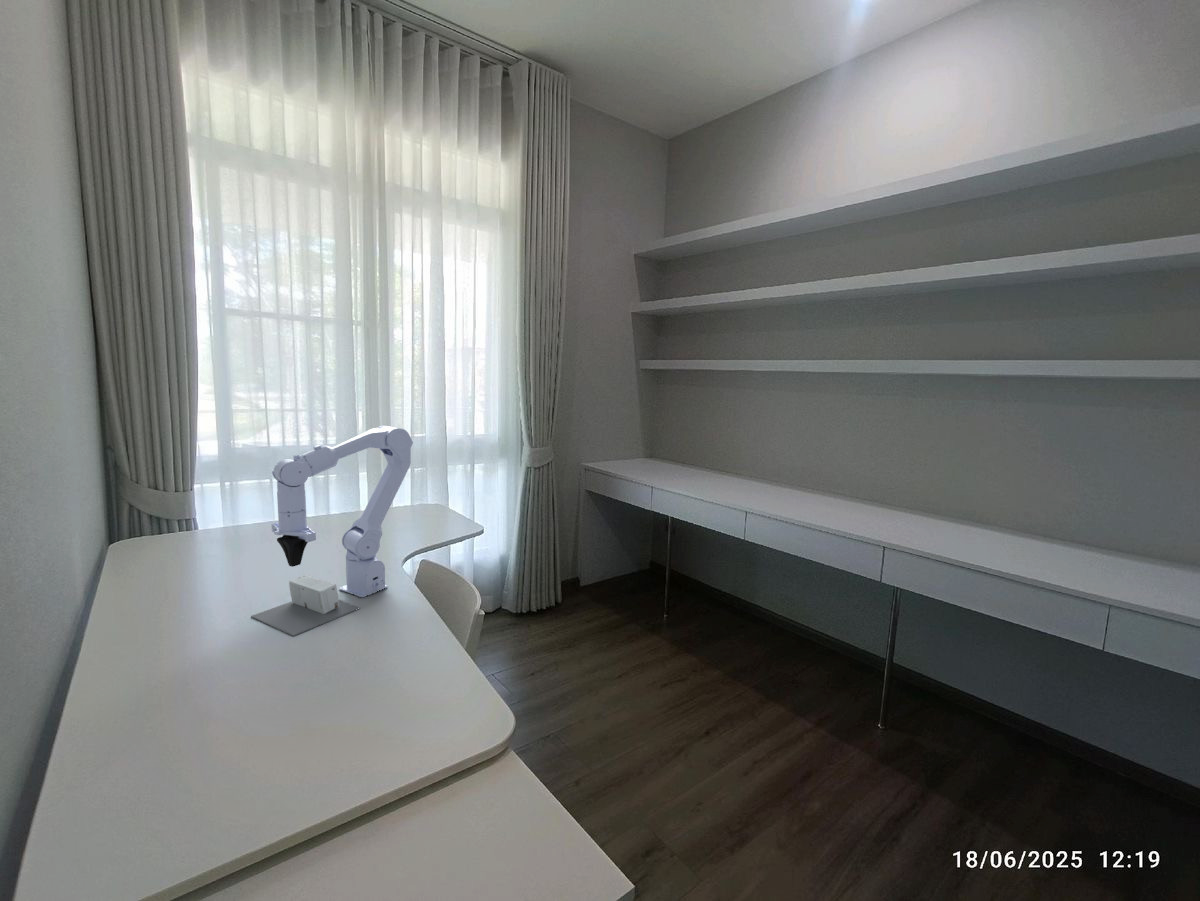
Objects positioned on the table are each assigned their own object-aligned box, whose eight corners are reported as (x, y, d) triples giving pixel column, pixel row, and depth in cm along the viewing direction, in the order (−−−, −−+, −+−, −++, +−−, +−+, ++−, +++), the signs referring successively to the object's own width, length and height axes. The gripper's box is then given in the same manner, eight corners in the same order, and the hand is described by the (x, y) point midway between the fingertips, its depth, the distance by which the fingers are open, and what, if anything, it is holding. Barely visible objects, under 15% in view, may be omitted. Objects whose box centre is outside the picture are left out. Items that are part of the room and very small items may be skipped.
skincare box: (287, 581, 123) (318, 591, 117) (305, 573, 127) (336, 583, 121) (292, 604, 124) (322, 615, 119) (309, 595, 128) (340, 606, 122)
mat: (359, 608, 123) (359, 607, 123) (293, 636, 109) (293, 635, 109) (317, 593, 131) (317, 592, 131) (251, 617, 117) (251, 615, 117)
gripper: (257, 508, 120) (260, 563, 122) (293, 518, 114) (296, 576, 115) (287, 503, 127) (289, 555, 128) (323, 512, 120) (325, 567, 122)
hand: (294, 565), depth 122 cm, fingers closed
